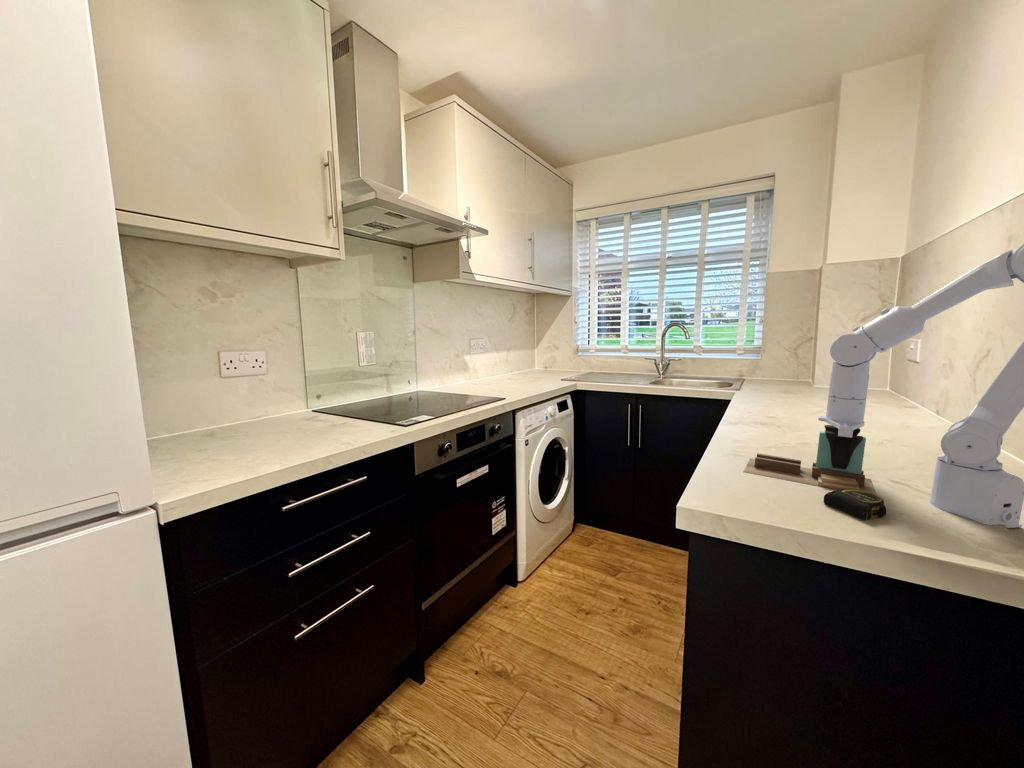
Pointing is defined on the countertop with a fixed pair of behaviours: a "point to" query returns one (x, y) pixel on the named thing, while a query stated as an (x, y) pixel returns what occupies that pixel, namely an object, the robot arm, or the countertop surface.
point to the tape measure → (856, 503)
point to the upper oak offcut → (839, 480)
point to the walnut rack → (800, 472)
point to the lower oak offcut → (834, 485)
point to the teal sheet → (825, 456)
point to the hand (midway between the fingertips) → (838, 464)
